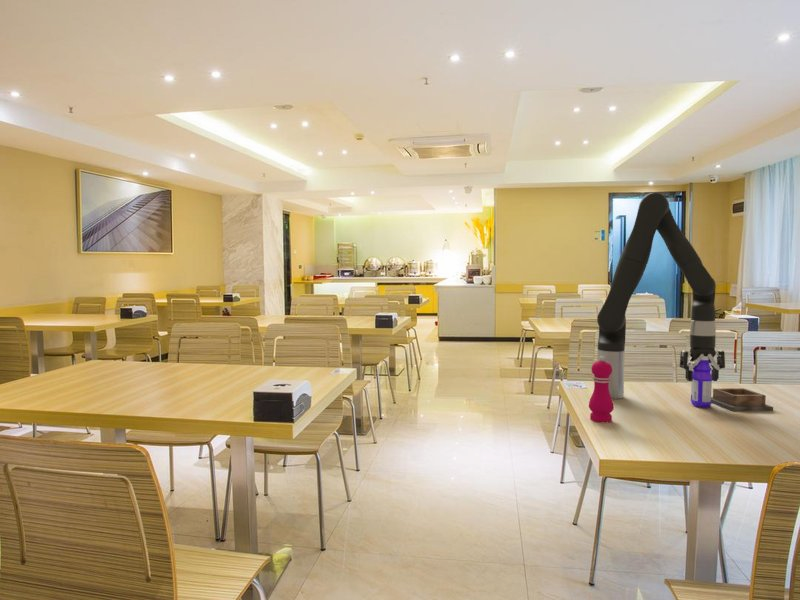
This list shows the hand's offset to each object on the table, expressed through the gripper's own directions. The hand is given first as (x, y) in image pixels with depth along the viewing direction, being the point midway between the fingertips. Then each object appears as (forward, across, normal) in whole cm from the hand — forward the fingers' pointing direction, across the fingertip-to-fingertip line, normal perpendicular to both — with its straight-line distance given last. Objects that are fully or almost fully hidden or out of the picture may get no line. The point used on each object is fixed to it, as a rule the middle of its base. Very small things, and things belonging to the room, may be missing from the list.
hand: (702, 380), depth 180 cm
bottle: (+9, 0, 0) cm, 9 cm away
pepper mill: (+9, -41, -16) cm, 45 cm away
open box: (+9, +13, 0) cm, 15 cm away
